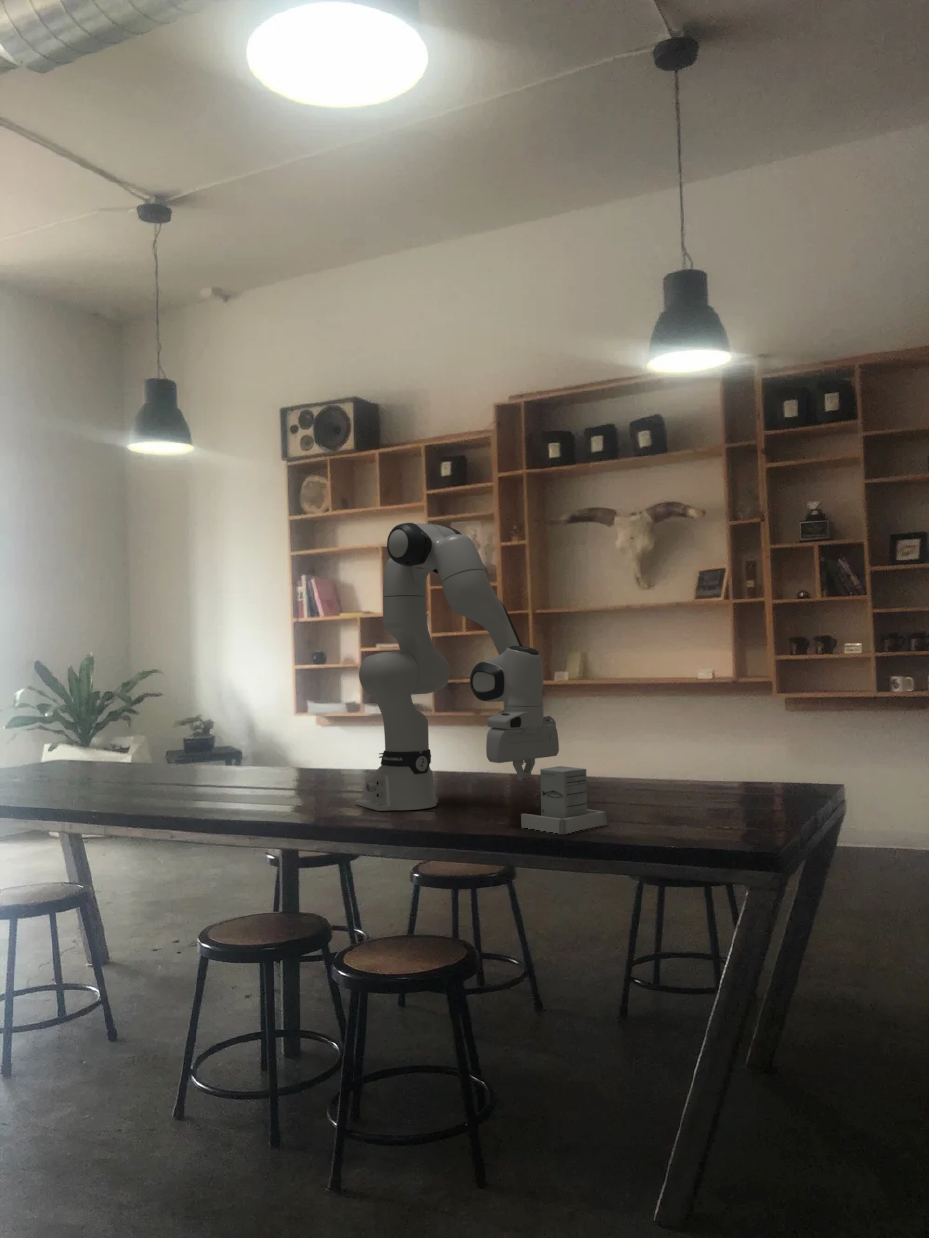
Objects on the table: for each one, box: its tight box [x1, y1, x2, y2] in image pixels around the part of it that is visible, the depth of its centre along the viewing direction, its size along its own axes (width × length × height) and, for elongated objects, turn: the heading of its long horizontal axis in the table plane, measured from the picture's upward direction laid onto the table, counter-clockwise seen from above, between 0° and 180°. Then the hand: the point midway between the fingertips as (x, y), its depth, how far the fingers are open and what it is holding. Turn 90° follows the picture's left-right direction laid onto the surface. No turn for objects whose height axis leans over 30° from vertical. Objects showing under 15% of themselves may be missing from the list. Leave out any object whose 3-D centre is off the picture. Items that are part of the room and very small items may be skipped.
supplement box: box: [539, 765, 588, 819], centre depth 204 cm, size 7×7×13 cm
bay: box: [520, 808, 608, 836], centre depth 204 cm, size 12×14×3 cm
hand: (523, 779), depth 213 cm, fingers closed
